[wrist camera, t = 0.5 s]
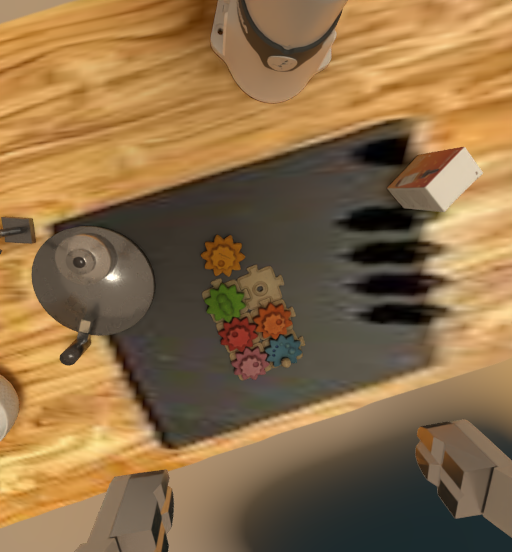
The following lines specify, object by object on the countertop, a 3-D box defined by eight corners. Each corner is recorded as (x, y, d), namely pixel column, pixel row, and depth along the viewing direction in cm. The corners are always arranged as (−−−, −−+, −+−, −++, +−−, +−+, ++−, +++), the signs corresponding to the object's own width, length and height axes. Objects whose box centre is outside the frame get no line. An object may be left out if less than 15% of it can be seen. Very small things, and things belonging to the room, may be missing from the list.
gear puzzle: (179, 248, 51) (175, 252, 47) (261, 217, 51) (264, 218, 47) (239, 380, 60) (240, 393, 56) (308, 354, 60) (314, 365, 56)
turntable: (28, 221, 46) (2, 225, 40) (154, 230, 49) (145, 234, 43) (45, 347, 52) (25, 365, 47) (156, 348, 55) (148, 365, 49)
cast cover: (64, 231, 46) (47, 235, 41) (115, 234, 47) (104, 238, 42) (69, 277, 48) (53, 285, 44) (118, 279, 49) (108, 288, 45)
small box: (417, 154, 50) (465, 144, 40) (434, 176, 52) (485, 172, 42) (385, 188, 52) (424, 187, 42) (403, 209, 53) (445, 212, 43)
